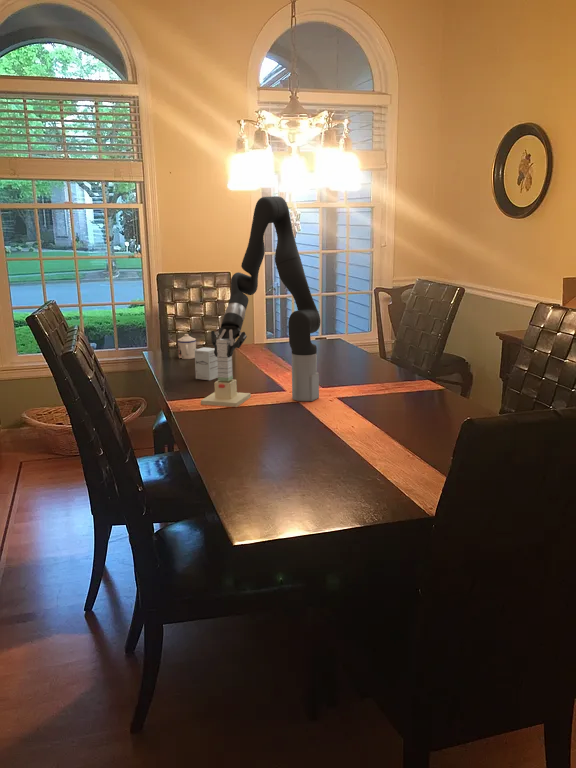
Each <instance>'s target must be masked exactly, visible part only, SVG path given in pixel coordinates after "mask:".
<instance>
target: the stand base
mask: <svg viewBox="0 0 576 768" xmlns="http://www.w3.org/2000/svg"><path fill="white" fill-rule="evenodd" d="M213 384H214V392H212V393H211V394H209V395H208V396H206V397H204V398H203V399H200V405H206V406H219V407H231V408H238V407H239V406H240V405H242V404H243V403H244V402H246V401H247V400H249V399H250V398H251V396H252V393H250V392H238V386H237V379H234V378H233V379H231V380H230V381H219V380H218V379H217V380H216V381H215V382H214V383H213Z"/></svg>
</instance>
